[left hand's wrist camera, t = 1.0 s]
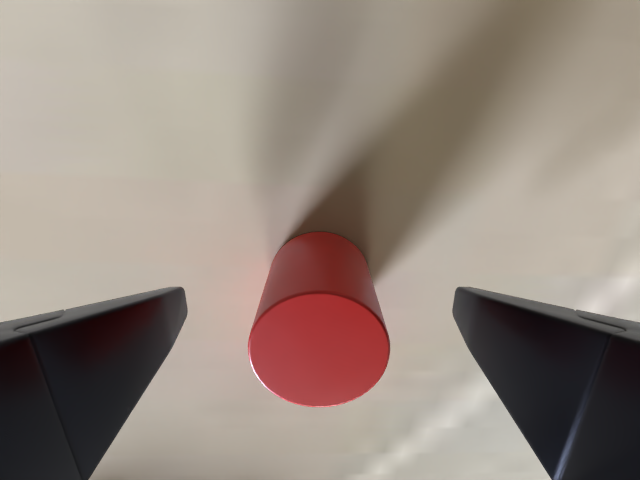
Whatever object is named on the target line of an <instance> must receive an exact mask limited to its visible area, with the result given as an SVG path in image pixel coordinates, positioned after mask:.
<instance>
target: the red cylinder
mask: <svg viewBox="0 0 640 480" xmlns="http://www.w3.org/2000/svg"><path fill="white" fill-rule="evenodd" d="M248 355H249V360H250V363H251V366H252V369H253V371H254V373H255V374H256V376H257V378H258V379H259V380H260V382H261V383H262V384H263V385H264V386H265V387H266V388H267V389H268V390H270V391H271V392H272V393H273V394H275V395H277V396H278V397H280V398H282V399H284V400H286V401H289V402H292V403H294V404H298V405H302V406H309V407H330V406H336V405H340V404H344V403H347V402H349V401H352V400H354V399H356V398H358V397H360V396H362V395H363V394H365V393H366V392H368V391H369V390H370V389H371V388H372V387H373V386H374V385H375V384H376V383H377V382H378V381H379V379H380V378H381V376H382V375H383V373H384V371H385V369H386V367H387V364H388V360H389V355H390V340H389V335H388V332H387V329H386V325H385V322H384V319H383V315H382V312H381V309H380V306H379V302H378V299H377V296H376V292H375V289H374V286H373V282H372V279H371V276H370V273H369V269H368V266H367V263H366V260H365V258H364V256H363V254H362V253H361V252H360V250H359V249H358V248H357V247H356V246H355V245H354V244H353V243H351V242H350V241H349V240H347V239H345V238H344V237H341V236H339V235H336V234H333V233H328V232H310V233H306V234H302V235H300V236H297V237H295V238H293V239H291V240H290V241H288V242H287V243H286V244H285V245H284V246H282V248H281V249H280V250H279V251H278V252H277V254H276V256H275V257H274V260H273V262H272V265H271V268H270V271H269V275H268V278H267V281H266V284H265V287H264V291H263V294H262V297H261V300H260V304H259V307H258V310H257V313H256V316H255V320H254V323H253V326H252V329H251V333H250V336H249V342H248Z"/></svg>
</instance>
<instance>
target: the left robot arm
mask: <svg viewBox="0 0 640 480" xmlns="http://www.w3.org/2000/svg"><path fill="white" fill-rule="evenodd" d="M186 317H187V303H186V297H185V291H184V289H183V288H182V287H168V288H163V289H159V290H154V291H149V292H145V293H140V294H135V295H131V296H126V297H122V298H117V299H112V300H108V301H103V302H98V303H94V304H89V305H85V306H80V307H75V308H71V309H66V310H65V311H64V310H59V311H55V312H50V313H45V314H40V315H35V316H31V317H26V318H21V319H16V320H11V321H6V322H0V480H88V479H89V478H90V476H91V475H92V473H93V471H94V470H95V468H96V467H97V465H98V464H99V462H100V460H101V459H102V457H103V456H104V454H105V453H106V451H107V449H108V448H109V446H110V445H111V443H112V442H113V440H114V438H115V437H116V435H117V434H118V432H119V431H120V429H121V427H122V426H123V424H124V423H125V421H126V420H127V418H128V416H129V415H130V413H131V412H132V410H133V409H134V407H135V405H136V404H137V402H138V401H139V399H140V398H141V396H142V394H143V393H144V391H145V390H146V388H147V387H148V385H149V383H150V382H151V380H152V379H153V377H154V376H155V374H156V372H157V371H158V369H159V368H160V366H161V365H162V363H163V361H164V360H165V358H166V357H167V355H168V354H169V352H170V350H171V349H172V347H173V345H174V343H175V341H176V338H177V336H178V334H179V332H180V330H181V328H182V326H183V323H184V321H185V319H186ZM453 317H454V319H455V321H456V323H457V326H458V328H459V330H460V332H461V334H462V336H463V338H464V341H465V343H466V345H467V347H468V349H469V350H470V352H471V354H472V355H473V357H474V358H475V360H476V361H477V363H478V365H479V366H480V368H481V369H482V371H483V372H484V374H485V376H486V377H487V379H488V380H489V382H490V383H491V385H492V387H493V388H494V390H495V391H496V393H497V394H498V396H499V398H500V399H501V401H502V402H503V404H504V405H505V407H506V409H507V410H508V412H509V413H510V415H511V416H512V418H513V420H514V421H515V423H516V424H517V426H518V427H519V429H520V431H521V432H522V434H523V435H524V437H525V438H526V440H527V442H528V443H529V445H530V446H531V448H532V449H533V451H534V453H535V454H536V456H537V457H538V459H539V460H540V462H541V464H542V465H543V467H544V468H545V470H546V471H547V473H548V475H549V476H550V478H551V479H552V480H640V322H634V321H629V320H624V319H619V318H614V317H609V316H605V315H600V314H595V313H590V312H585V311H581V310H576V311H575V310H574V309H570V308H565V307H560V306H556V305H551V304H546V303H542V302H537V301H532V300H528V299H523V298H519V297H514V296H509V295H505V294H500V293H495V292H491V291H486V290H481V289H477V288H472V287H458V288H457V289H456V291H455V297H454V303H453Z"/></svg>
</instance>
